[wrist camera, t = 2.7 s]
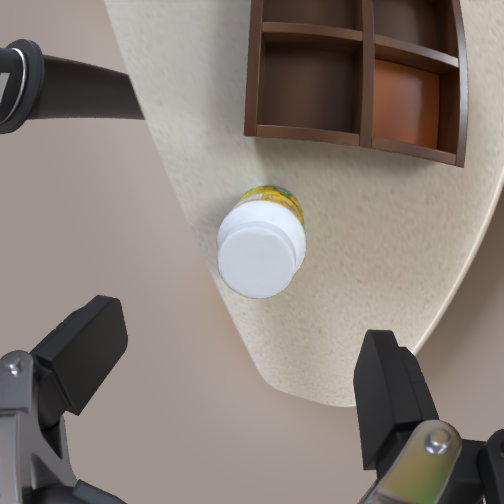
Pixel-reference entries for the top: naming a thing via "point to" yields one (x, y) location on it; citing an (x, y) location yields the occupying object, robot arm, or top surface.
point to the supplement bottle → (261, 242)
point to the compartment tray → (360, 75)
